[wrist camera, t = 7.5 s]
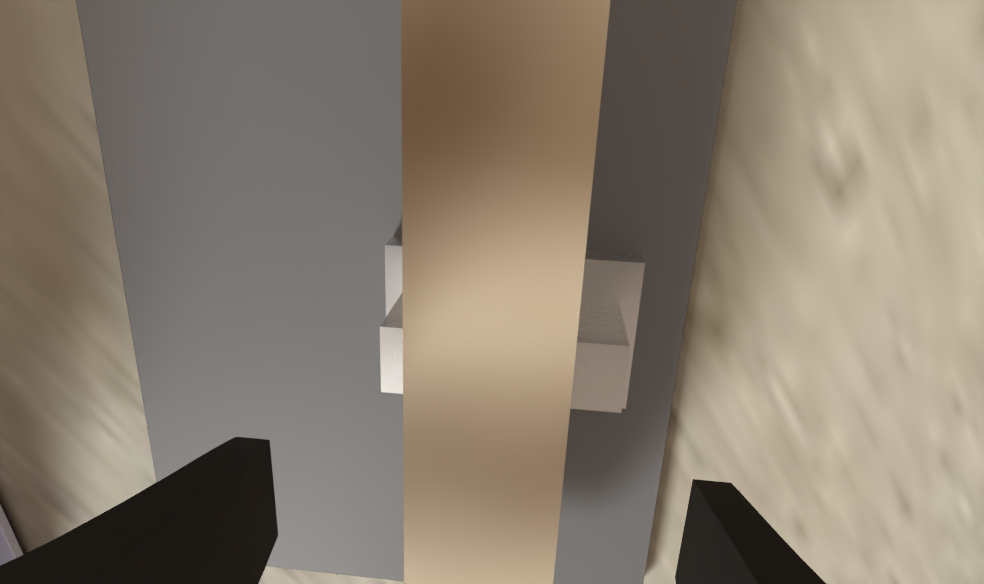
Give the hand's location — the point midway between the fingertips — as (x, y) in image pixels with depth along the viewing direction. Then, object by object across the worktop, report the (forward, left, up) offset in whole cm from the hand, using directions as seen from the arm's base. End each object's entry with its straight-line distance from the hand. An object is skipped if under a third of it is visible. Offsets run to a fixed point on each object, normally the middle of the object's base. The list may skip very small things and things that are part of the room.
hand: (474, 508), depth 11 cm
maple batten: (0, 0, -5) cm, 5 cm away
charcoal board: (+1, +4, -10) cm, 11 cm away
